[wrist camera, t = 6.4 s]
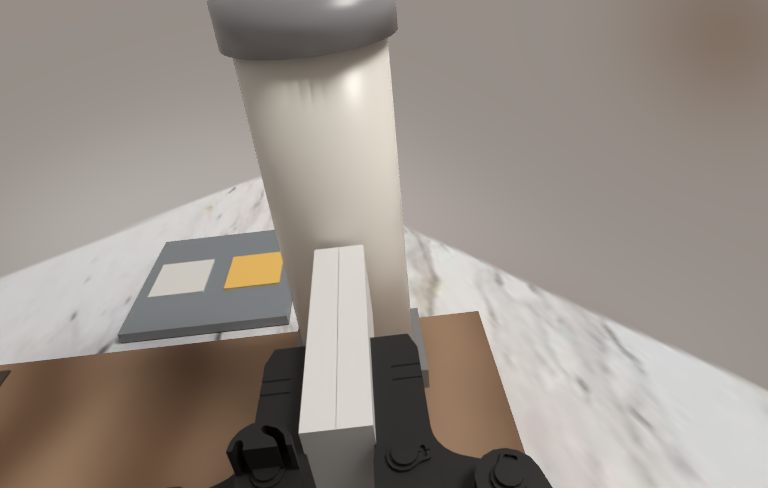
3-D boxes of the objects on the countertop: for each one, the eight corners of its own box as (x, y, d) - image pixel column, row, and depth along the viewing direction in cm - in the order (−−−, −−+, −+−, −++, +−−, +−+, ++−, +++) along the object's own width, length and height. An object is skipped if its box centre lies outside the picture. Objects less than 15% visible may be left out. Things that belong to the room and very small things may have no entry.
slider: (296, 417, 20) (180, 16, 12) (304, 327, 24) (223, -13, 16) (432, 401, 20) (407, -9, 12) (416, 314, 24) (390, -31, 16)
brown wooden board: (-421, 785, 14) (-499, 764, 13) (-92, 406, 25) (-119, 377, 24) (577, 669, 14) (587, 638, 13) (477, 342, 25) (478, 309, 24)
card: (121, 342, 28) (116, 333, 27) (169, 249, 35) (165, 241, 35) (289, 324, 28) (286, 314, 27) (300, 234, 35) (298, 225, 35)
